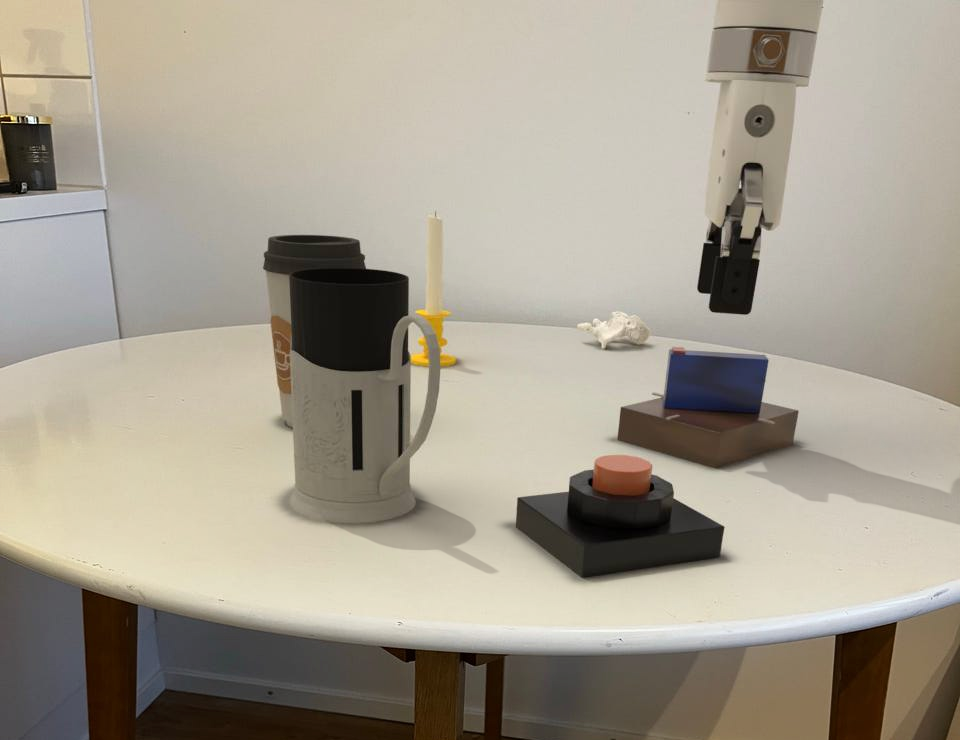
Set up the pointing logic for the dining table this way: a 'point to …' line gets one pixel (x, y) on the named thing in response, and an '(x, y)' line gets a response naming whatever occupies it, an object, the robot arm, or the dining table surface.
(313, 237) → the coffee cup
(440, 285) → the candle
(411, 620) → the dining table surface
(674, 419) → the brown flat base
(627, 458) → the button
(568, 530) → the button box
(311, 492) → the glass holder
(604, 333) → the vertebra bone
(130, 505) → the dining table surface
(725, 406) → the blue battery-like brick
